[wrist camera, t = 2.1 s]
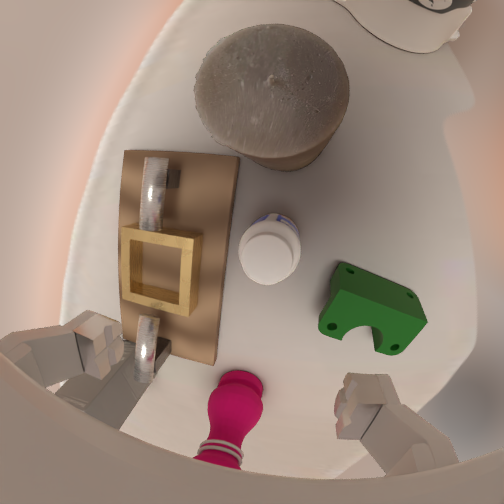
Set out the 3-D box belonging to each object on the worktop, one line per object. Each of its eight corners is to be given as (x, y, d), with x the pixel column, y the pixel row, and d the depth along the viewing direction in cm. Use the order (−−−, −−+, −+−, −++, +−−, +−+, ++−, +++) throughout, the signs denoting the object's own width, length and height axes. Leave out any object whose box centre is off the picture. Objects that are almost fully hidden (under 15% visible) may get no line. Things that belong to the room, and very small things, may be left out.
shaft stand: (131, 151, 30) (81, 145, 21) (239, 158, 28) (215, 147, 19) (128, 333, 37) (93, 367, 28) (216, 359, 35) (194, 405, 26)
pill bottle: (251, 260, 31) (232, 294, 22) (249, 212, 30) (228, 226, 20) (299, 260, 30) (301, 295, 21) (299, 212, 29) (302, 225, 19)
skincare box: (143, 339, 36) (82, 407, 21) (160, 377, 38) (112, 447, 23) (104, 339, 38) (44, 394, 23) (121, 374, 40) (71, 432, 24)
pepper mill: (272, 374, 34) (248, 504, 15) (259, 407, 36) (234, 521, 17) (221, 361, 35) (167, 482, 16) (213, 394, 37) (168, 502, 18)
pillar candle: (344, 118, 25) (384, 61, 11) (295, 189, 28) (294, 192, 14) (269, 73, 25) (244, -6, 11) (220, 141, 28) (154, 107, 14)
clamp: (330, 288, 35) (300, 321, 28) (350, 251, 32) (324, 278, 25) (402, 336, 30) (389, 381, 23) (429, 302, 27) (425, 345, 20)
